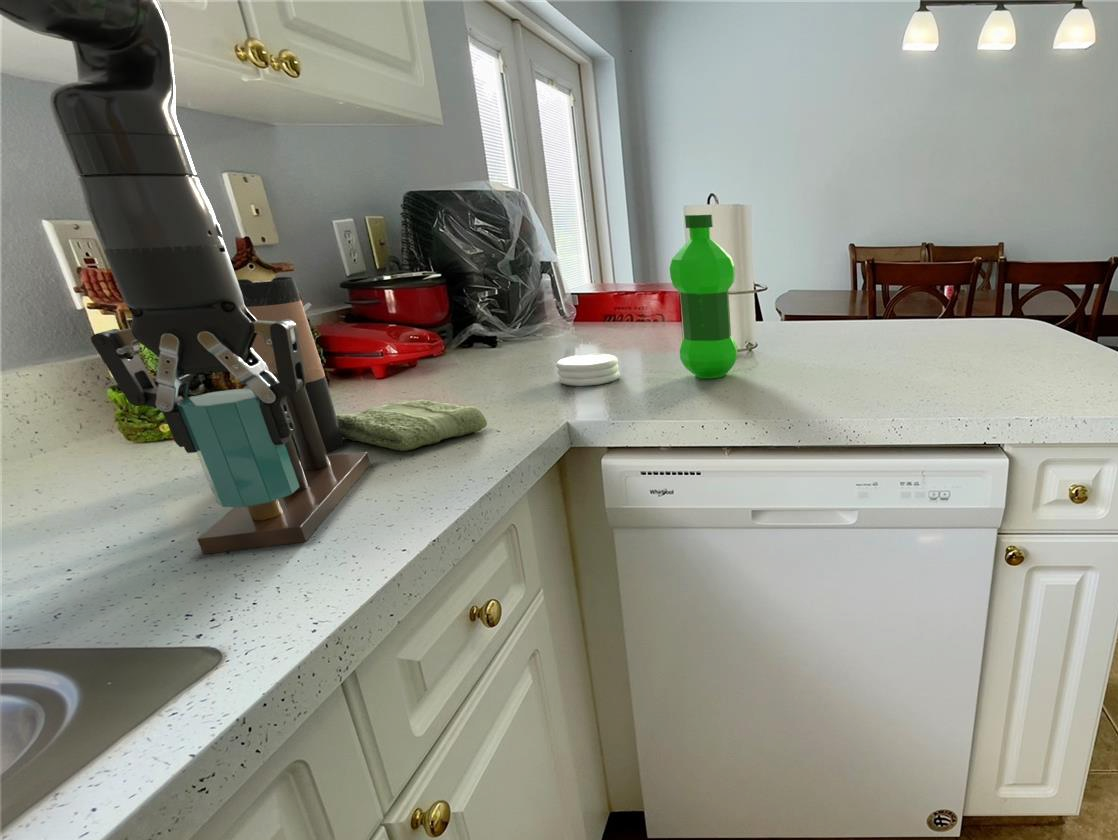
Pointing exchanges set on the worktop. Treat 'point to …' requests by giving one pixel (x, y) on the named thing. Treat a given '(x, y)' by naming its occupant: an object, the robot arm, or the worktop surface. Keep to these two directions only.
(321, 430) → the travel mug
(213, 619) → the worktop surface
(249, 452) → the teal octagonal prism
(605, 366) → the white stacked discs
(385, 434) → the washcloth
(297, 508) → the drying rack
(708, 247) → the plastic bottle
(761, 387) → the worktop surface
